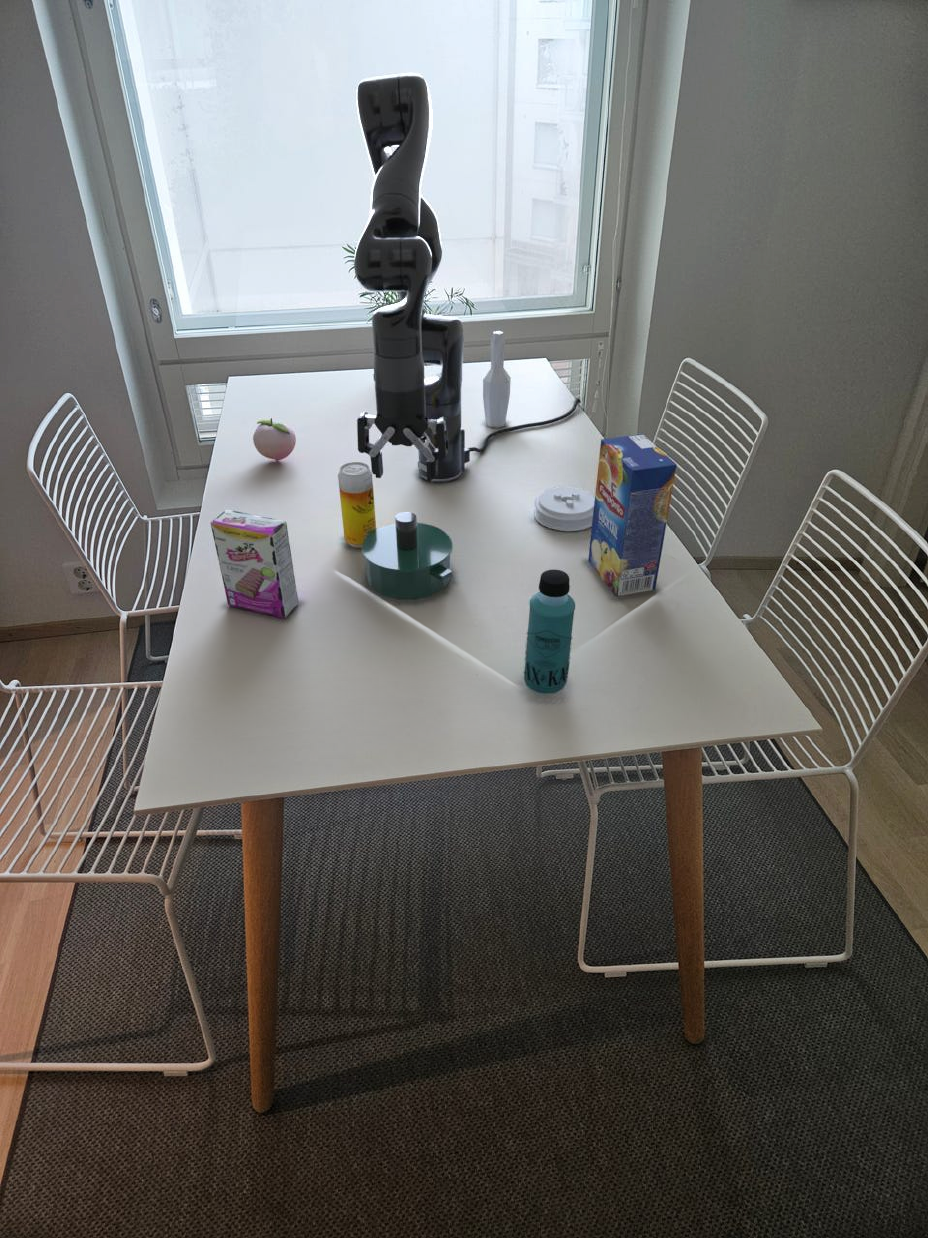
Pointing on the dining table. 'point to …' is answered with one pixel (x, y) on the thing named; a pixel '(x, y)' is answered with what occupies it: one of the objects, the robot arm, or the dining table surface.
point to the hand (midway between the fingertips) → (404, 477)
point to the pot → (408, 581)
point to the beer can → (356, 502)
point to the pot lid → (407, 545)
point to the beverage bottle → (549, 634)
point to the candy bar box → (255, 562)
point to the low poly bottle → (496, 384)
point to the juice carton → (630, 513)
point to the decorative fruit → (274, 439)
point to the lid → (565, 508)
